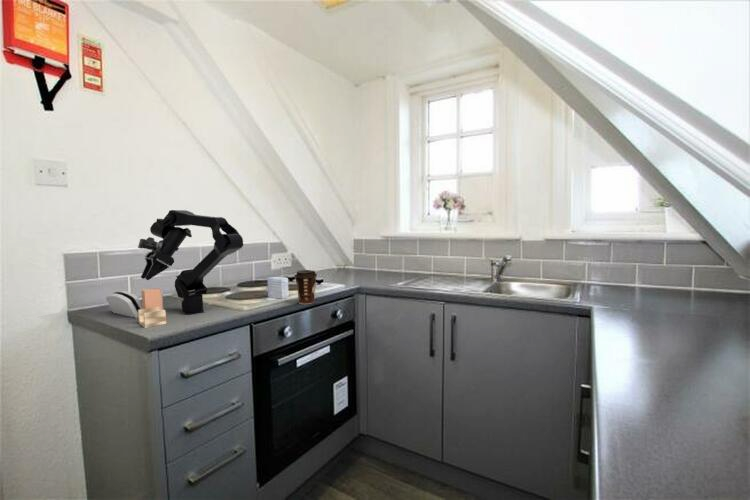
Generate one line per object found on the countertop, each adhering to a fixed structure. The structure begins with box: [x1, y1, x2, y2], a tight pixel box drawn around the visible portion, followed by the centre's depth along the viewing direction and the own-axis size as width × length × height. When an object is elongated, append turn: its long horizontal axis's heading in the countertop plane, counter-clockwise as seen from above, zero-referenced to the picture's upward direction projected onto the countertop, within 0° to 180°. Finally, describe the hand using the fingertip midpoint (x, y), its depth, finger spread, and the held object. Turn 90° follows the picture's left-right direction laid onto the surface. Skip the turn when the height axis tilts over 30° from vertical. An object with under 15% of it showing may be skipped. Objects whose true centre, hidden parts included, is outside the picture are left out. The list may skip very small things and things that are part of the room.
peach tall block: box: [140, 287, 164, 310], centre depth 125 cm, size 5×4×10 cm
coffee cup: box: [294, 269, 318, 305], centre depth 145 cm, size 9×8×13 cm
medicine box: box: [267, 276, 289, 300], centre depth 156 cm, size 8×4×9 cm, turn 65°
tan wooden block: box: [138, 307, 167, 329], centre depth 118 cm, size 6×8×4 cm
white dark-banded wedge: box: [105, 290, 143, 319], centre depth 130 cm, size 17×5×10 cm, turn 61°
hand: (144, 278), depth 126 cm, fingers open, 9 cm apart
